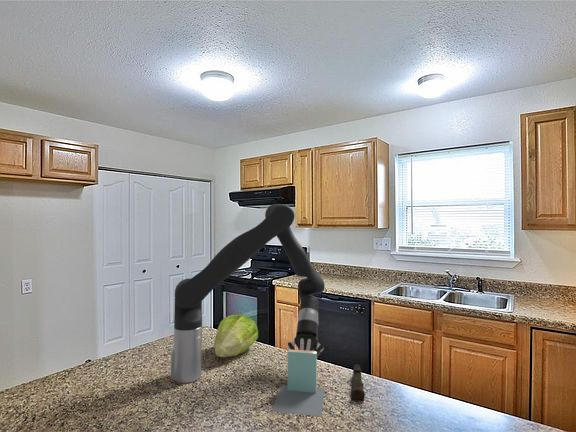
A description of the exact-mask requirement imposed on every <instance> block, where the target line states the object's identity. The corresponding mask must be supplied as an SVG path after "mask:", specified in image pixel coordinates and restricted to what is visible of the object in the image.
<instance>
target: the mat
mask: <svg viewBox="0 0 576 432" xmlns="http://www.w3.org/2000/svg"><path fill="white" fill-rule="evenodd" d="M325 390H326V388H325V387H317V391H316V393H312V392H301V391H290V390H287V384H283V383H282V384H281V385H280V388H279V390H278V392H277V395H276V398H275V400H274V403H273V406H272V408H271V411H270V412H272V413H274V412H275V413H285V414H294V415H303V416H304V415H305V416H313V417H322V414H323V406H324V398H325Z"/></svg>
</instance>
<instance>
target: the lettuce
mask: <svg viewBox="0 0 576 432" xmlns="http://www.w3.org/2000/svg"><path fill="white" fill-rule="evenodd" d="M258 339H259V329H258V326H257V323H256V321H255V320H253V319H252V318H251V317H249V316H247V315H245V314H242V313H240V314H232V315H228V316H226V317H224V318H223V319H222V320H221V321H220V322H219V325H218V327H217V331H216V334H215V336H214V342H213V346H214V350H215V351H214V352H215V355H216V356H217V357H220V358H230V357H235V356H237V355H240V354H243V353H245V352H246V351H247V350H248V349H249V348H251V347H252V345H254V344H255V342H256V341H257V340H258Z"/></svg>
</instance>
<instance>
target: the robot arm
mask: <svg viewBox="0 0 576 432" xmlns="http://www.w3.org/2000/svg"><path fill="white" fill-rule="evenodd" d="M264 213H265V214H264V216H265V218H264V220H262V221H261V222H260V223H258V224H257V225H256V226H255V227H252V228H251V229H249V230H247V231H245V232H242V233H241V234H240V235H238V236H236V237H235V238H233V239H231V241H230V242H228V243H227V244H226V245H225V246H224V247H222V248H221V249H220V251H218V253H216V255H214V257H213V258H212V259H211V261H209V263H208V264H207V265H206V266H205V267H204V268H203V269H202V270H200V271H199V272H198V273H197V274H196V275H194V276H192V277H191V278H184V279H182V280H181V281H179V282H178V283H177V284H176V286H175V289H174V313H173V321H174V322H173V328H174V330H173V349H172V350H171V353H170V355H171V356H170V380H171V381H174V382H176V383H180V384H185V383H194V382H195V381H197V380H200V378H201V377H202V364H203V363H202V361H203V359H202V358H203V357H202V356H203V355H202V351H203V350H202V349H203V335H202V334H203V309H202V308H203V300H204V299H205V298H206V297H207V296H208V295H209V294H210V293H212V291H214V289H215V288H216V287H217V286H218V285H219V284H221V283H222V282H223V281H224V280H226V279H227V278H228V277H230V276H231V275H232V274H234V273H235V272H237V270H239V269H240V268H242V266H243V265H245V264H246V263H247V262H248V261H249V260H250V259H252V257H254V256H255V255H256V254H257V253H258V252H260V250H261V249H262V248H263V247H265V246H266V244H268V243H269V242H270V241H271V240H272V239H274V238H276V237H277V239H278V240H279V243H280V245H281V246H282V248H283V250H284V252H285V254H286V256H287V258H288V261H289V263H290V265H291V268H292V269H293V271H294V274H295V275H296V276H297V277H301V279H300V280H299V281H298V283H297V290H298V295H299V302H300V304H299V312H298V316H297V323H296V325H297V326H296V335H295V337H294V340H293V341H291V342H290V341H288V342H287V346H288V350H289V349H291V350H296V348H297V350H305V351H317V358H318V357H319V356H320V355H321V354H322V353H323V352H324V350H325V349H324V348H325V347H324V344H321V343H320V342H319V339H318V332H319V308H320V307H319V304H320V303H319V300H318V298H317V297H315V295H320V294H322V293H323V292H324V291H325V285H326V284H325V282H324V280H323V278H322V276H321V275H320V273H318V271H316V270H315V268H314V267H313V266H312V264H311V262H310V259H309V257H308V255H307V253H306V251H305V249H304V247H302V245H301V243H300V242H299V241H298V239H297V238H296V236H295V235H294V233H293V230H292V228H291V226H292V224H293V223H294V220H295V212H294V209H293V208H292V207H291V206H289V205H286V204H282V203H273V204H271V205H268V207H267V209H266V211H265V212H264ZM302 277H303V278H302ZM315 348H316V349H315Z"/></svg>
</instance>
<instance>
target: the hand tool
mask: <svg viewBox="0 0 576 432" xmlns="http://www.w3.org/2000/svg"><path fill="white" fill-rule="evenodd" d="M365 397H366V393H365V391H364V383H363V381H362V369H361V366H360V365H359V364H358V363H356V364H354V365H353V368H352V390H351V393H350V399H351V401H357V402H364V401H365Z"/></svg>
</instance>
